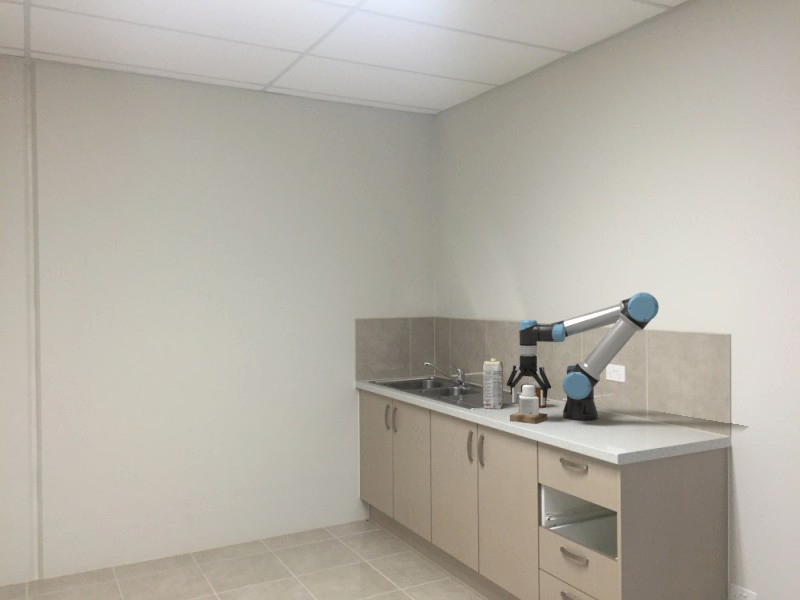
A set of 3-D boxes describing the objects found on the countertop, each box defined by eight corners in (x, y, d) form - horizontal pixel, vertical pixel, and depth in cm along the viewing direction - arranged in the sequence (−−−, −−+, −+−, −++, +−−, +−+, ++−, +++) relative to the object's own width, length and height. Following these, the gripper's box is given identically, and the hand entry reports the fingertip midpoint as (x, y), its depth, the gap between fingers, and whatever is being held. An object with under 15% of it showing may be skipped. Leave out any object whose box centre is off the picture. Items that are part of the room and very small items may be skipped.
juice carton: (503, 407, 341) (503, 357, 340) (501, 409, 333) (501, 359, 333) (484, 406, 343) (484, 357, 343) (482, 409, 336) (482, 359, 335)
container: (518, 412, 310) (518, 383, 310) (536, 412, 310) (536, 383, 310) (520, 415, 302) (520, 385, 302) (538, 415, 302) (538, 385, 302)
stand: (547, 419, 307) (547, 413, 307) (535, 423, 298) (535, 417, 298) (522, 416, 315) (522, 410, 315) (509, 420, 305) (509, 414, 305)
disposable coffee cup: (525, 405, 344) (525, 381, 343) (543, 405, 346) (543, 380, 346) (534, 409, 334) (534, 384, 334) (552, 408, 337) (552, 383, 336)
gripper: (558, 355, 301) (558, 404, 302) (506, 353, 316) (507, 399, 317) (551, 357, 295) (551, 407, 296) (498, 354, 310) (499, 402, 311)
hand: (528, 403), depth 306 cm, fingers open, 13 cm apart
